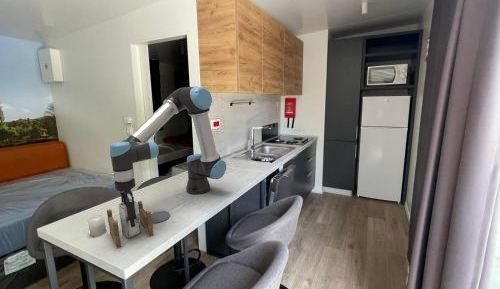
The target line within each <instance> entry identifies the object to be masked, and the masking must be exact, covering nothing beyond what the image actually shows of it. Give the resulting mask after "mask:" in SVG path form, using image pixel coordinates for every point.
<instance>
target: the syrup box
mask: <svg viewBox="0 0 500 289" xmlns="http://www.w3.org/2000/svg"><path fill="white" fill-rule="evenodd" d="M134 205H135V212H136V217H137V218H136V219H135V220H136V228H137V232H136V233H133V234H130V232H129V225H128V221H127V219H128V214H127V207H126V205H125V204H124V202H122V201H121V202H120V203H118V211H119V219H120V226H121V232H122V235H123V236H124V237H126V238H127V239H130V238H132V237H134V236H137V235H139V234H141V233H142V229H141V224H140V218H139V209H138V201H135V200H134Z"/></svg>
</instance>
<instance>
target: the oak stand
mask: <svg viewBox="0 0 500 289" xmlns="http://www.w3.org/2000/svg"><path fill="white" fill-rule="evenodd" d="M137 203H138V211H139V220H140V226H141V228H143V230H144V231H145V232H146V234H147V235H148V236H149V237H153V236H154V228H153V223H152V217H151V214H152V211H151V210H145V209H144V205H143V201H142V200H138V201H137ZM106 214H107V220H108V221H107V222H108V229H109V234H110V236H111V239H112V241H113V243H114V245H115V247H116V249H119V248H122V243H121V235H120V228H119V221H118V220H115V218H114V217H113V211H112V209H111V208H109V209H106Z"/></svg>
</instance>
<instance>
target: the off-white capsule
mask: <svg viewBox="0 0 500 289" xmlns="http://www.w3.org/2000/svg"><path fill="white" fill-rule="evenodd" d="M87 222H88V229H89V234H90V237H95V238H96V237H100V236H102V235H104V234H106V232H107V226H106V221H105V216H104V214H98V215H93V216H91V217H89V218H88V219H87Z"/></svg>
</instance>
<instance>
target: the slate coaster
mask: <svg viewBox="0 0 500 289" xmlns="http://www.w3.org/2000/svg"><path fill="white" fill-rule="evenodd" d="M170 213H171V212H169V211H165V210H159V211H155V212H151V217H152V225H155V224H160V223H163V222H166V221H168V220H169V219H170V218H171V214H170Z"/></svg>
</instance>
